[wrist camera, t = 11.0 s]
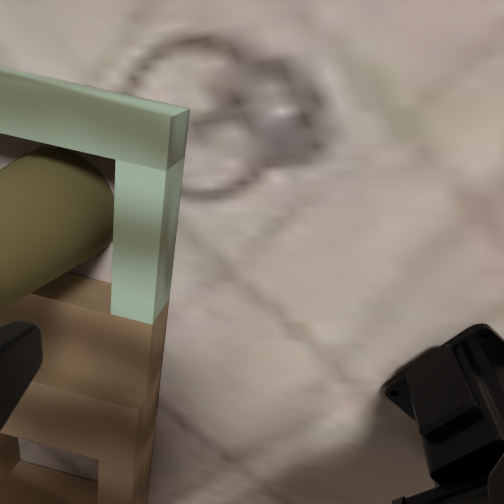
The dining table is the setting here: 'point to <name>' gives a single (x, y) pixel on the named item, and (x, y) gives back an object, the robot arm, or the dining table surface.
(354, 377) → the dining table surface
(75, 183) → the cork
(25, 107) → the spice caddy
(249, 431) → the dining table surface
